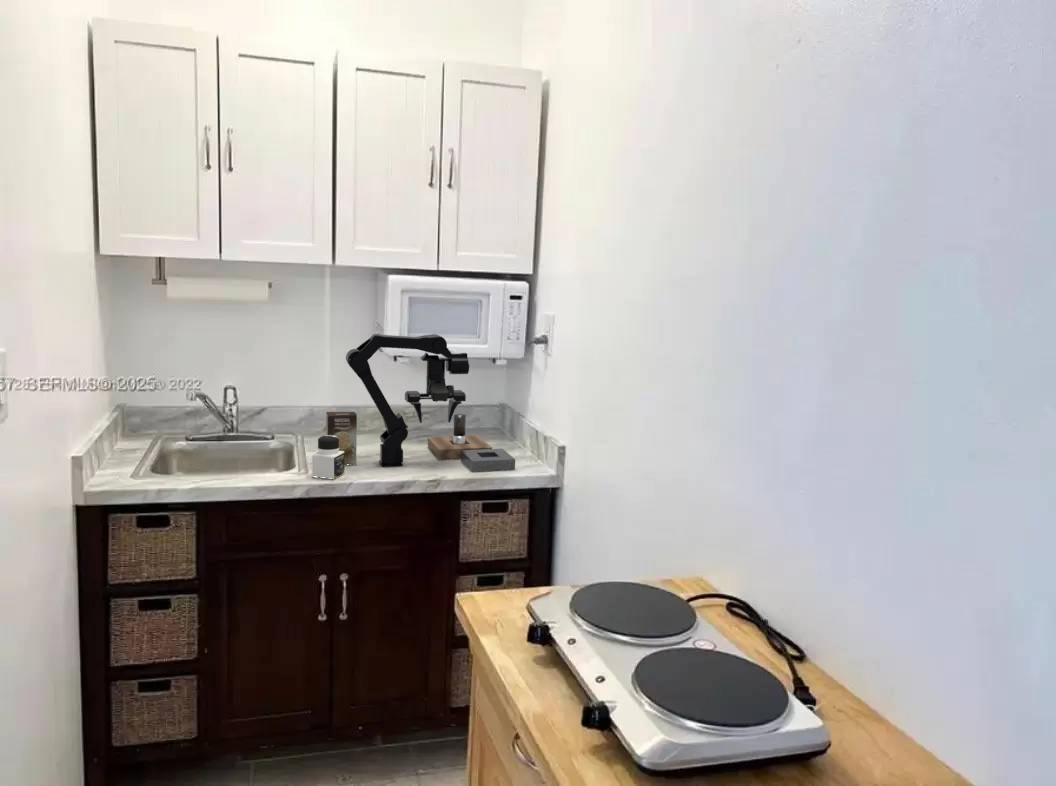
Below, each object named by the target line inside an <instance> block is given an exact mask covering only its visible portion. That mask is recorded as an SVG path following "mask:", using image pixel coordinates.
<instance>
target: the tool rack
mask: <svg viewBox="0 0 1056 786" xmlns="http://www.w3.org/2000/svg"><path fill="white" fill-rule="evenodd" d="M427 448H428V450H430V452H431V451H432V452H431V453H432V454H433V455H434V456H435V458H437V460H438V461H446V460H447V459H448V460H449V459H453V460H461V450H481V449H493V447H492V445H490V444H489V443H488V442H486V440H484V439H483V438H482V437H480V435H477V434H476V435H465V444H458V445H453V435H452V436H451V435H450V436H449V435H448V436H428V437H427Z"/></svg>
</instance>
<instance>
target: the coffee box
mask: <svg viewBox="0 0 1056 786" xmlns="http://www.w3.org/2000/svg"><path fill="white" fill-rule="evenodd" d="M325 415H326V416H325V417H326V418H325V419H326V421H325V429H326V430H325V436H327V435H331V436H336V437H338V438H339V450H338V451H344V458H345V466H351V465H350V464H356V465H357V430H358V429H357V428H358V427H357V426H358V423H357V422H358V420H357V419H358V418H357V417H358V415H357V413H356V412H355V411H326V414H325ZM347 464H349V465H347Z"/></svg>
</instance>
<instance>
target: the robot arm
mask: <svg viewBox="0 0 1056 786" xmlns="http://www.w3.org/2000/svg"><path fill="white" fill-rule="evenodd" d="M381 348H384V349H385V348H388V349H402V350H403V349H405V350H419V351H422V352H424V354H423V355H422V356H421V357H420V360H421V361H422V362H426V391H425V392H426V393H425V392H424V393H423V392H420V391H418V390H406V391H405V392H404V400H405V402H407V403H409V404H410V405H411V406H413V408H414V410H415V413H416V415H417V418H418V421H419V424H422V422H423V420H422V419H423V418H422V415H423V414H422V408H421V407H422V403H421V402H420V401H421V400H431V401H432V402H447V401H448V409H447V422H448V423H451V420H452V418H453V416H454V413H455V410H456V408H457V406H458V405H460V404H461V405H462V402H466V400H467V399H466V398H467V395H466V393H465V392H464V391H462V390H461V389H455V386H454V384H453V385H451V384H448V385H446V376H445V375H446V372H448V373H449V375H469V372H470V363H469V358H468V353H466V352H459V353H452V352H451V350H450V349H449V348H448V342H447V340H446V339H445V338H444V337H443V336H441V335H439V334H437V333H436V334H425V335H419V336H406V335H405V336H404V335H390V334H380V333H373V334H372V335H371V336H370V337H369V338H368V339H367V340H365V341H363V342H362V343H361V344H359V346H357V347H356V348H353V349H350V350H348V352H346V355H345V361H346V363H347V365H348V366H349V368H351V369H352V371H354V373H355V374H356V375H357V377H358V378H359V379H360V381H361V382H362V384H363V385H364V387H365V389H366V391H367V393H368V394H369V396H370V398H371V399H372V401H373V403H374V404H375V406H376V408H377V410H378V412H379V414H380V415H381V417H382V420H383V425H384V427H385V430H384V431H383V432H382V433H381V435H380V436H379V439H380V442H381V443H380V444H379V447H380V448H379V450H380V451H379V453H380V454H379V461H378V462H379V464H380V466H381V467H400V466H401V467H402V466H403V462H404V450H403V448H402V445H403V442H404V441H405V440H406V439H407V438H408V435H409V431H408V428H409V426H408V424H407V423H406V422H405V420H404V417H403V415H402V414H400V412H398V413H397V414H395V413H394V411H393V410H392V407H391V406H390V403H389V402H388V401H387V398H386V397H385V395H384V393H383V392H382V390H381V389H380V387H379V384H378V382H377V381H376V380H375V377H374V376H373V374H372V373H373V372H372V370H371V367H370V363H369V361H368V360H370V359H371V358H372V357H373V356H374V355H375V353H376V352H377V351H379V350H380V349H381ZM429 353H430V354H429ZM432 354H433V355H432ZM439 355H441V356H443V357H439Z"/></svg>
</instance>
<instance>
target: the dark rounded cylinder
mask: <svg viewBox="0 0 1056 786" xmlns="http://www.w3.org/2000/svg"><path fill="white" fill-rule="evenodd" d="M452 436H453V445H458V444H465V436H466V414H464V413H455V414H454V413H453V435H452Z"/></svg>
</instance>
